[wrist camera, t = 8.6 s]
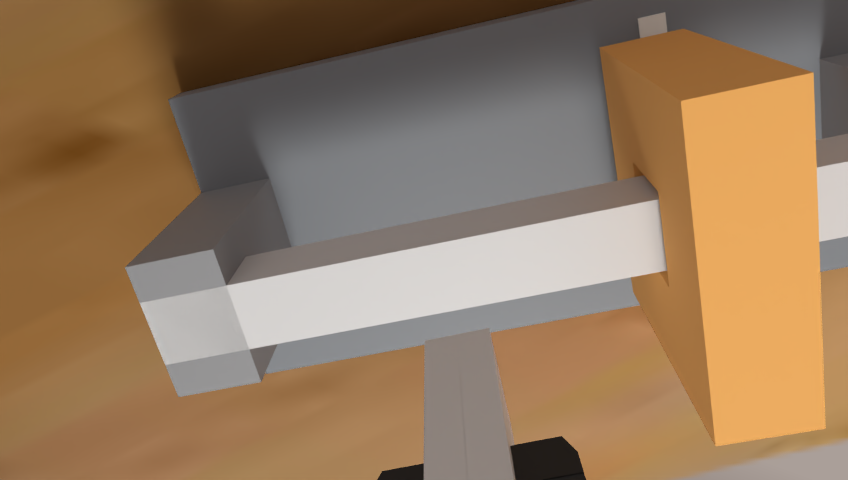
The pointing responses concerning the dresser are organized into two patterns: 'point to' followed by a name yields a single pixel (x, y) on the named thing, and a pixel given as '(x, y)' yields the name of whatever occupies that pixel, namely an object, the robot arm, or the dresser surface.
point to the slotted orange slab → (727, 225)
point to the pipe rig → (440, 187)
